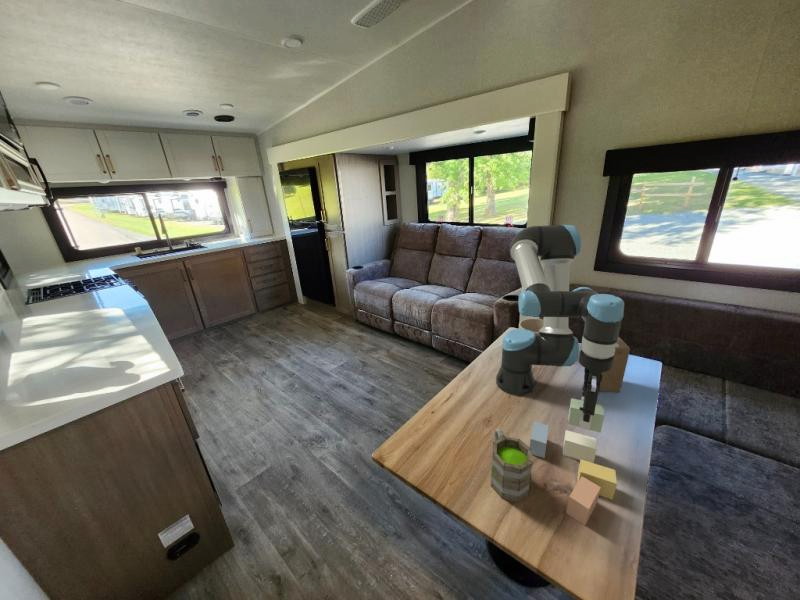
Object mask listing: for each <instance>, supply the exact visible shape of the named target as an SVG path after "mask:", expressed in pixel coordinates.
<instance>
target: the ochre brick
mask: <svg viewBox="0 0 800 600" xmlns="http://www.w3.org/2000/svg"><path fill="white" fill-rule="evenodd" d="M577 471H578V472H577V483H578V482H579V480H580V478H581V477H582V476H583V477H584V478H586V479H588V480H589V481H591V482H593V483H594V484H596V485H598V486H599V487H601V489H600V493H599V496H601V497H603V498H606V499H610V500H612V501H613V500H614V496H615V492H616V489H617V485H618V483H617V474H616V470H615V469H613V468H610V467H606V466H603V465H600V464H598V463H595V462H594V463H591V462H588V461H585V460H582V459H581V460H579V465H578V470H577Z"/></svg>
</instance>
